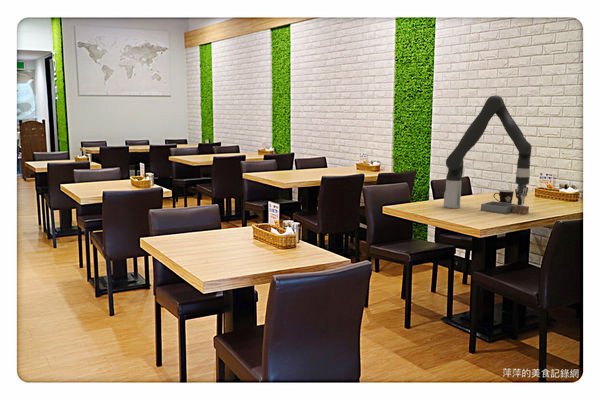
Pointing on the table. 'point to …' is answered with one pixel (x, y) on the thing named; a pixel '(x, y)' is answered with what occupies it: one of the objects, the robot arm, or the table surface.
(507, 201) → the coffee mug
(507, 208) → the tray
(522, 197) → the stop pin
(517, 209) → the pin block
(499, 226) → the table surface
